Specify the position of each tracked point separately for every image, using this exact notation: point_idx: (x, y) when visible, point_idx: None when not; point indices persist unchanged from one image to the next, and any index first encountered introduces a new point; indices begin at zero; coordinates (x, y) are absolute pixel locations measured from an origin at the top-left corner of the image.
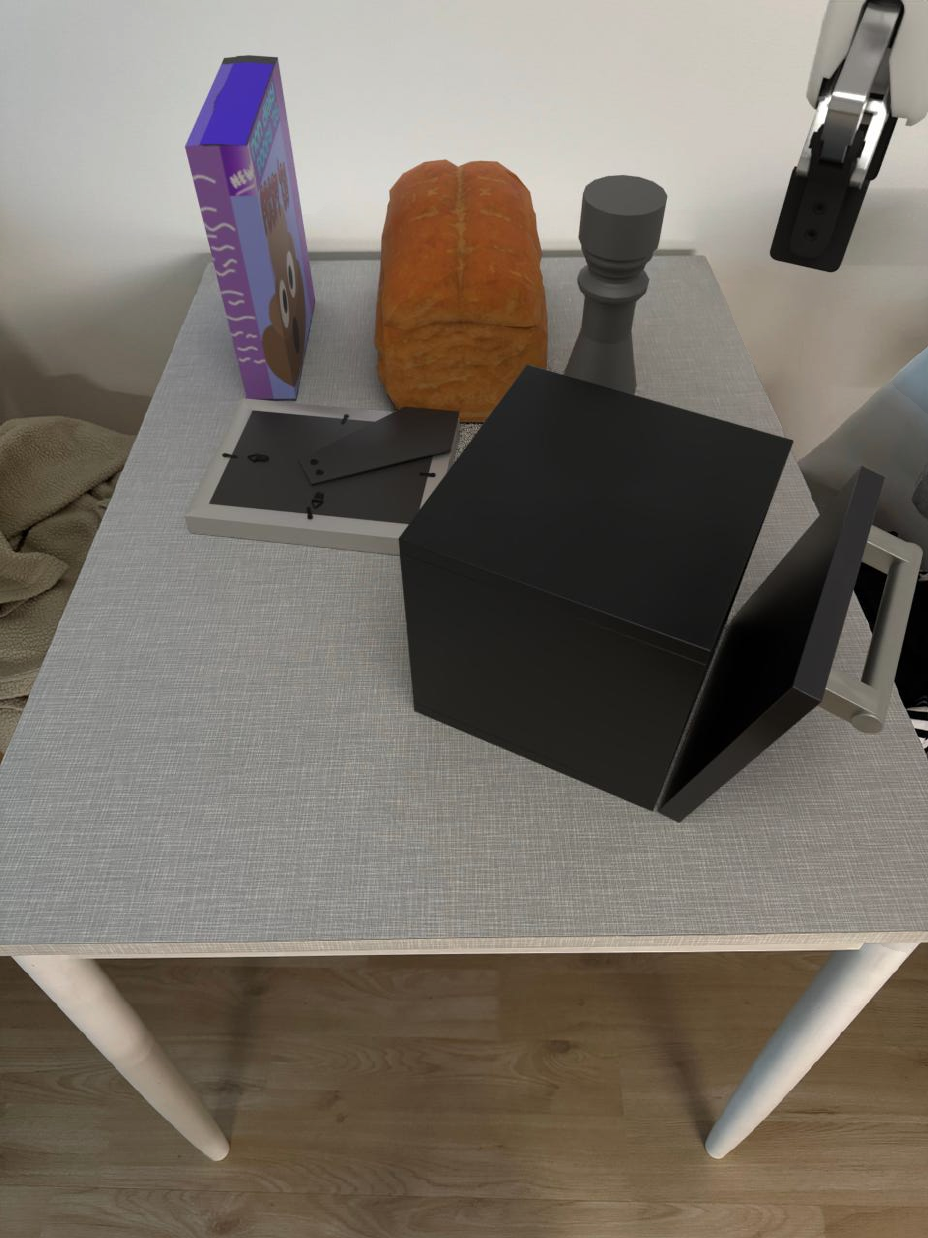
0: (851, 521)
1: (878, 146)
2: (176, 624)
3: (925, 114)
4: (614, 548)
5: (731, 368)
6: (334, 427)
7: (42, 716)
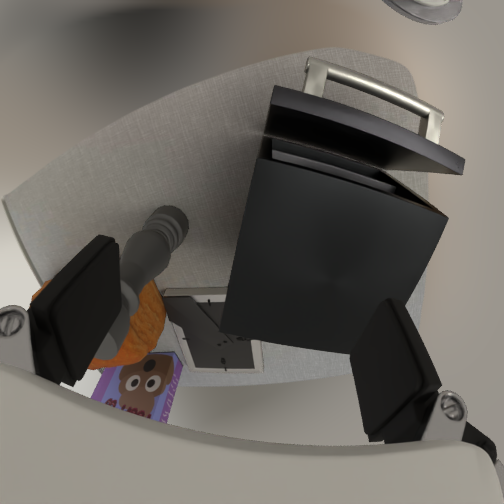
0: (336, 116)
1: (95, 275)
2: (309, 356)
3: (481, 452)
4: (382, 271)
5: (64, 160)
6: (193, 341)
7: (349, 371)
